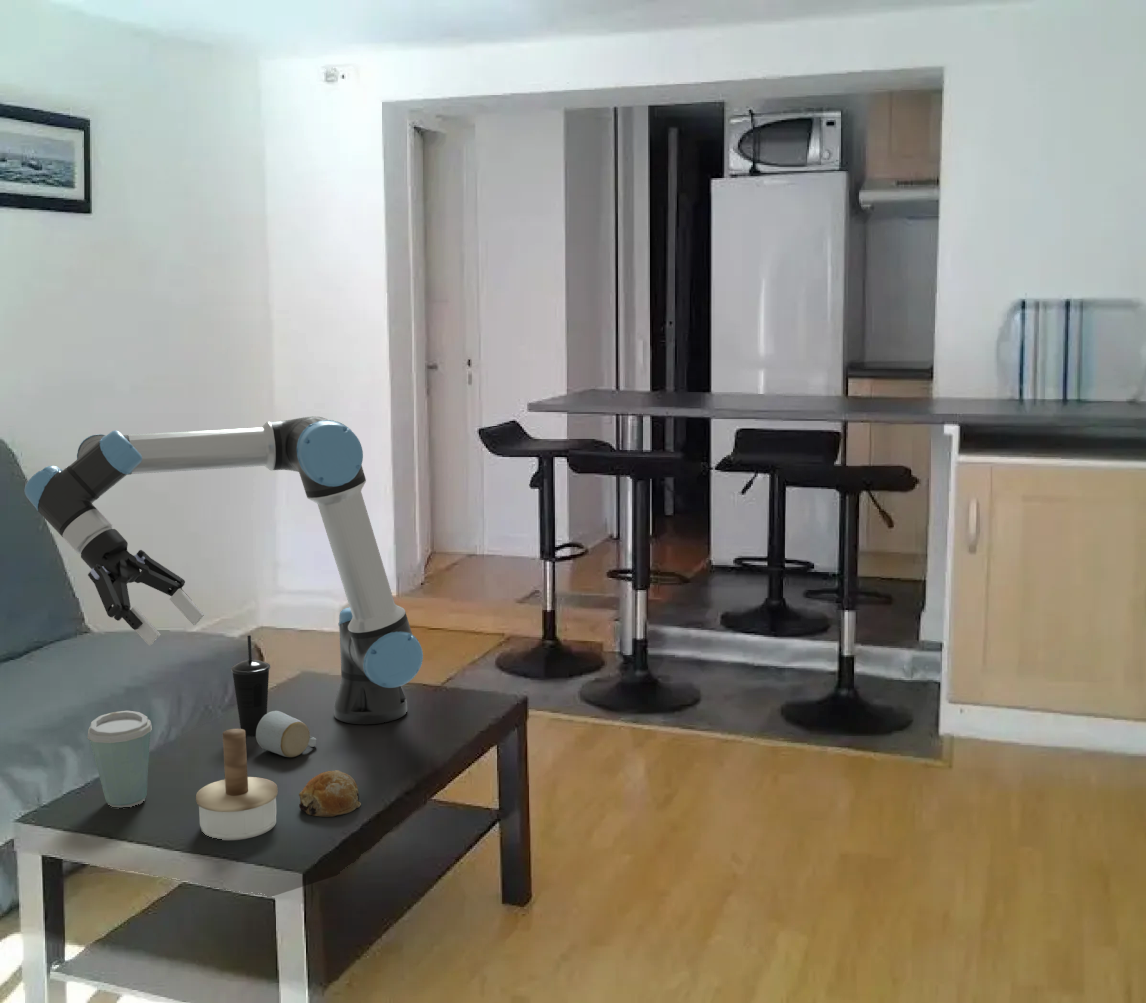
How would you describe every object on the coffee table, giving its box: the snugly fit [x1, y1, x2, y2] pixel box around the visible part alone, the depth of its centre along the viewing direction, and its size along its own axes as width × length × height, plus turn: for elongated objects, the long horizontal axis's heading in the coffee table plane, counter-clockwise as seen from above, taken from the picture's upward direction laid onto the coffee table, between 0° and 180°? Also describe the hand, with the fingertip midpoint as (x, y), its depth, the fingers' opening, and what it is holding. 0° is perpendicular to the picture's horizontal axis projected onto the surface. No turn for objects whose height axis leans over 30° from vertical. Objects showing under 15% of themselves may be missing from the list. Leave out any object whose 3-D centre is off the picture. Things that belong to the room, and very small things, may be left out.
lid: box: [195, 728, 279, 812], centre depth 209 cm, size 13×13×11 cm
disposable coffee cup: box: [86, 710, 153, 808], centre depth 219 cm, size 11×11×15 cm
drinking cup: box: [230, 635, 271, 737], centre depth 254 cm, size 8×8×20 cm
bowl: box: [198, 797, 277, 841], centre depth 210 cm, size 12×12×5 cm
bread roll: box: [298, 769, 362, 818], centre depth 217 cm, size 10×10×8 cm
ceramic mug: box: [255, 710, 318, 758], centre depth 244 cm, size 11×8×8 cm
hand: (177, 630), depth 220 cm, fingers open, 13 cm apart
